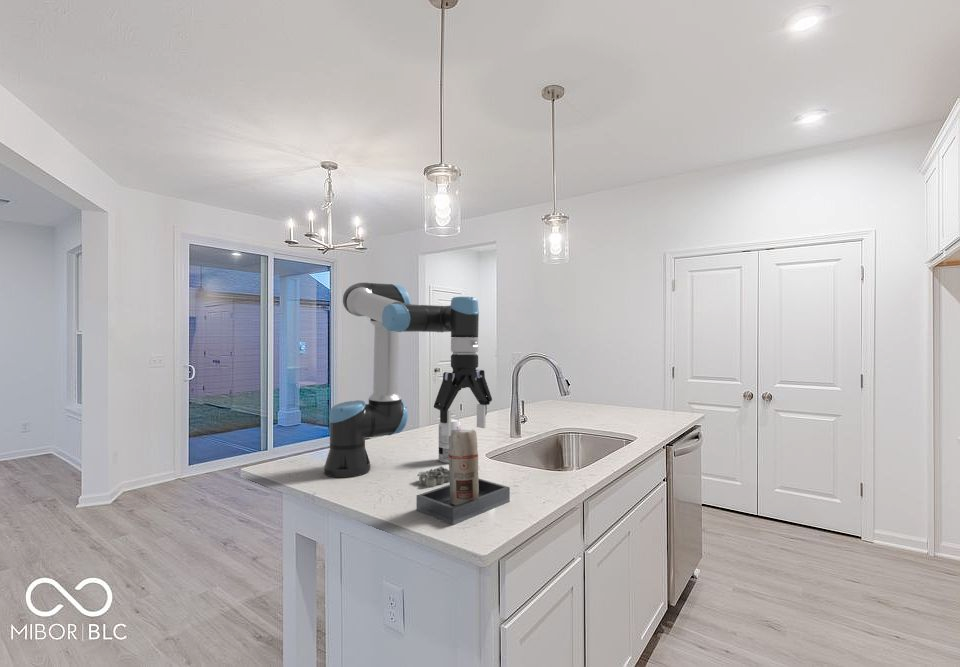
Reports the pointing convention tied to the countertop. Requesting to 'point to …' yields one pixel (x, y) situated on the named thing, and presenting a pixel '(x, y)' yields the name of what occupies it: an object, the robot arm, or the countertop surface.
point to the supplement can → (446, 441)
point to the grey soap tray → (442, 509)
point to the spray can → (463, 466)
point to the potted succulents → (434, 477)
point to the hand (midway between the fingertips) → (464, 431)
